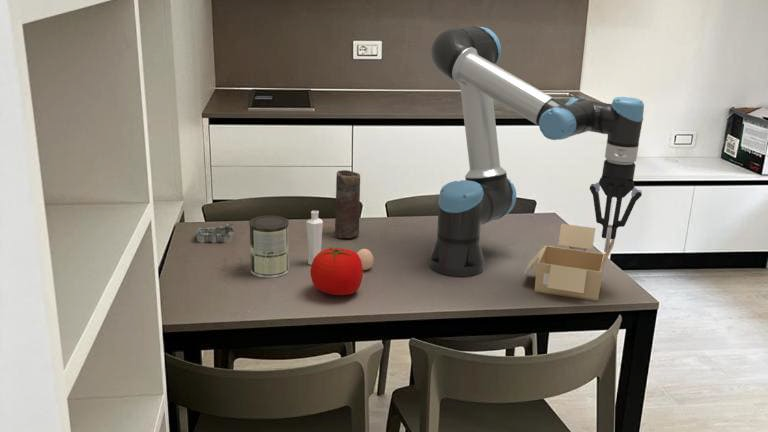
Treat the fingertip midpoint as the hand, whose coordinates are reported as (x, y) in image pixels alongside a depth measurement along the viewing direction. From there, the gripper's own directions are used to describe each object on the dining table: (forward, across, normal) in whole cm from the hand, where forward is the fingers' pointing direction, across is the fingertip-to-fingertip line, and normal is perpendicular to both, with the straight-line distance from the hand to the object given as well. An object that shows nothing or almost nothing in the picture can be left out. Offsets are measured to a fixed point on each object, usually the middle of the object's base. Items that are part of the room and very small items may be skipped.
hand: (606, 250), depth 203 cm
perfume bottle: (+14, -76, -11) cm, 78 cm away
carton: (+12, -8, 0) cm, 14 cm away
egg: (+13, -62, -10) cm, 64 cm away
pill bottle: (+12, -8, +20) cm, 25 cm away
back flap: (+3, -8, +7) cm, 12 cm away
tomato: (+13, -63, -27) cm, 70 cm away
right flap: (+3, 0, 0) cm, 3 cm away
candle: (+13, -76, +13) cm, 78 cm away
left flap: (+4, -16, 0) cm, 17 cm away
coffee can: (+14, -85, -21) cm, 89 cm away
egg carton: (+15, -111, -5) cm, 112 cm away
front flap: (+3, -8, -7) cm, 11 cm away
